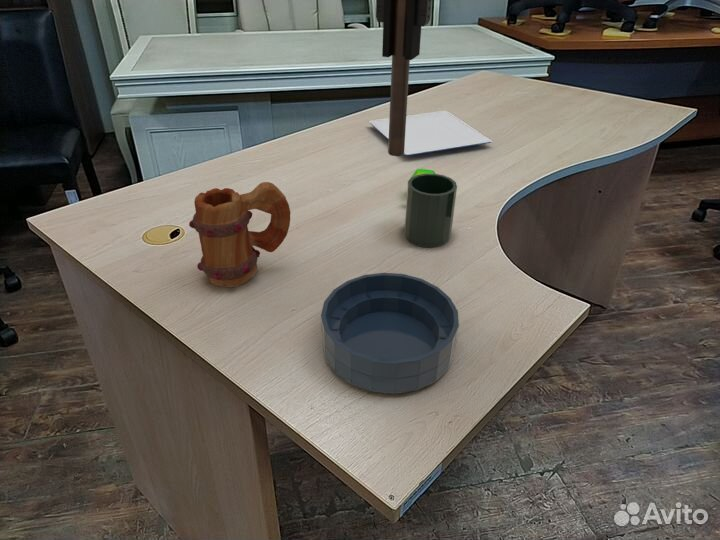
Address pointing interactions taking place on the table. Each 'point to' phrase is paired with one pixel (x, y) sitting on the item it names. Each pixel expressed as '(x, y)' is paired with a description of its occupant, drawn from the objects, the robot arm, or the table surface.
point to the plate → (434, 132)
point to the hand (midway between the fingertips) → (400, 55)
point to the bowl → (389, 332)
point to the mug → (237, 231)
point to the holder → (429, 209)
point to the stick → (398, 81)
